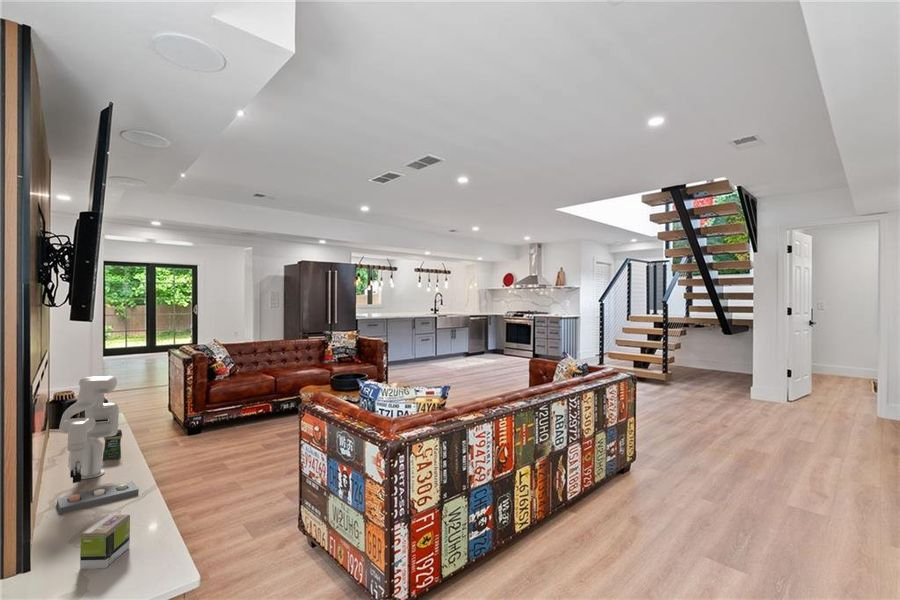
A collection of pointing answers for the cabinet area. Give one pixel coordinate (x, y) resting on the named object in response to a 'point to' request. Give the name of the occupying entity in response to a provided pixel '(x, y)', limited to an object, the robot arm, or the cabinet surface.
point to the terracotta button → (74, 498)
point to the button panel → (96, 497)
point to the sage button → (121, 487)
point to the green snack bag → (112, 446)
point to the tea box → (104, 541)
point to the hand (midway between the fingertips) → (75, 479)
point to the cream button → (99, 492)
